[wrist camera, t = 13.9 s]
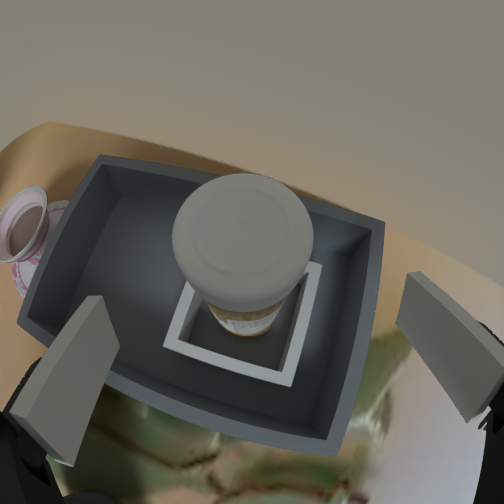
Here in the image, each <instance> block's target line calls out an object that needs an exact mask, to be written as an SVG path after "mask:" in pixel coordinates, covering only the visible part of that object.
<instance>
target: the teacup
mask: <svg viewBox="0 0 504 504" xmlns="http://www.w3.org/2000/svg"><path fill="white" fill-rule="evenodd" d="M69 202H70V201H67V200H60V201H55V202H52V203H50V204H48V205H47V194H46V192H45V190H44V189H43V188H41V187H39V186H30V187H27V188H25V189H23V190H21V191H20V192H18V193H17V194H16V195H14V196H13V197H12V198H11V199H10V200H9V201H8V202H7V204H6V205H5V206H4V207H3V209H2V210H1V212H0V262H5V263H12V275H13V279H14V283H15V286H16V288H17V290H18V291H19V293H20V294H21V296H22V297H23V298H25V296H26V293H27V290H28V287H29V285H30V282H31V280H32V277H33V275H34V272H35V270H36V268H37V265H38V263H39V261H40V258H41V256H42V254H43V252H44V250H45V247H46V245H47V243H48V241H49V239H50V237H51V235H52V233H53V231H54V229H55V227H56V225H57V223H58V221H59V220H60V218H61V216H62V214H63V212H64V210H65V209H66V207H67V205H68V203H69Z"/></svg>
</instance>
